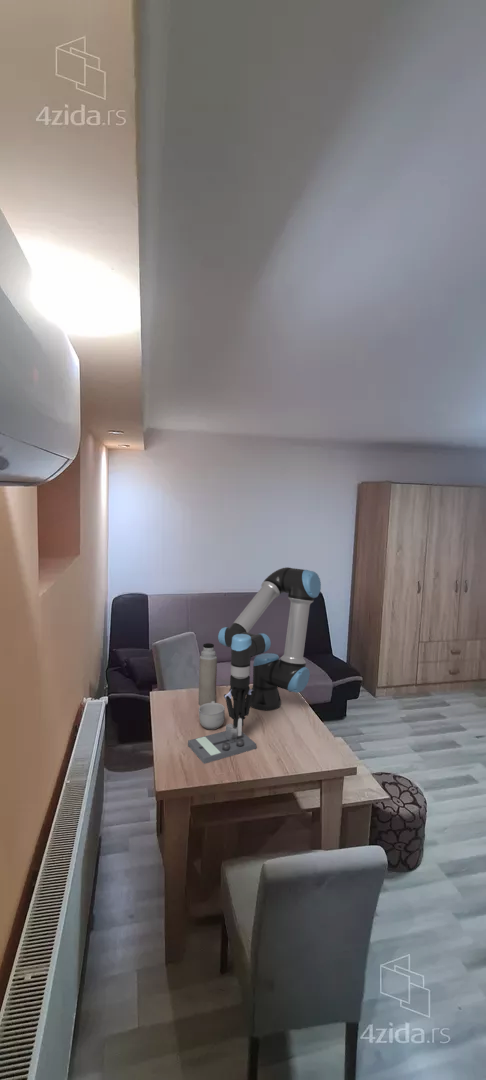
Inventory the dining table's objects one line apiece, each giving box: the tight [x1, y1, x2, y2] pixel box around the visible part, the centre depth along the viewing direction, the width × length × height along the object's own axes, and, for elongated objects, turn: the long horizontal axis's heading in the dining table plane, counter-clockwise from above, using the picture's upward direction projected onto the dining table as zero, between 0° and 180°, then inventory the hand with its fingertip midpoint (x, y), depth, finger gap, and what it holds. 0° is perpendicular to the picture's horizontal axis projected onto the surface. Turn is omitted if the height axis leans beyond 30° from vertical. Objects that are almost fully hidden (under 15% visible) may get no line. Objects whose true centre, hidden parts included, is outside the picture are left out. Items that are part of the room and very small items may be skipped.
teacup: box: [198, 701, 226, 731], centre depth 194 cm, size 14×11×8 cm
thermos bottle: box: [198, 642, 218, 707], centre depth 213 cm, size 8×8×28 cm
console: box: [187, 730, 257, 765], centre depth 176 cm, size 22×14×4 cm, turn 121°
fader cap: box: [225, 723, 237, 742], centre depth 178 cm, size 2×4×5 cm, turn 31°
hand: (237, 734), depth 179 cm, fingers closed
